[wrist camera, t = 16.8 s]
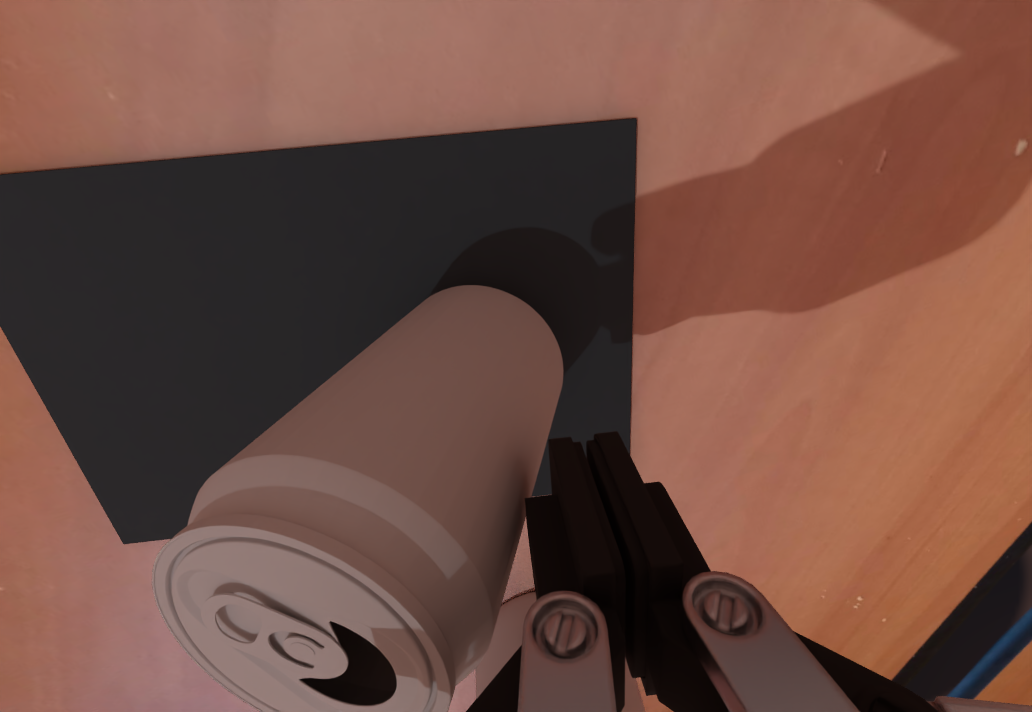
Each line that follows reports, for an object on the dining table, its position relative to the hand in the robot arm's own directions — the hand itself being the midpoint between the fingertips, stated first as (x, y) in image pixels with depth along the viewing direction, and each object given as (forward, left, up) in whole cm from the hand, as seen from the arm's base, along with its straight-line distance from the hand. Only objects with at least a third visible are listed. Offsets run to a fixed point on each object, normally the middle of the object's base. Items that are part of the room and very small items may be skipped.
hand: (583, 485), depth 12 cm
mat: (+5, -6, -9) cm, 12 cm away
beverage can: (+1, -2, -8) cm, 8 cm away
